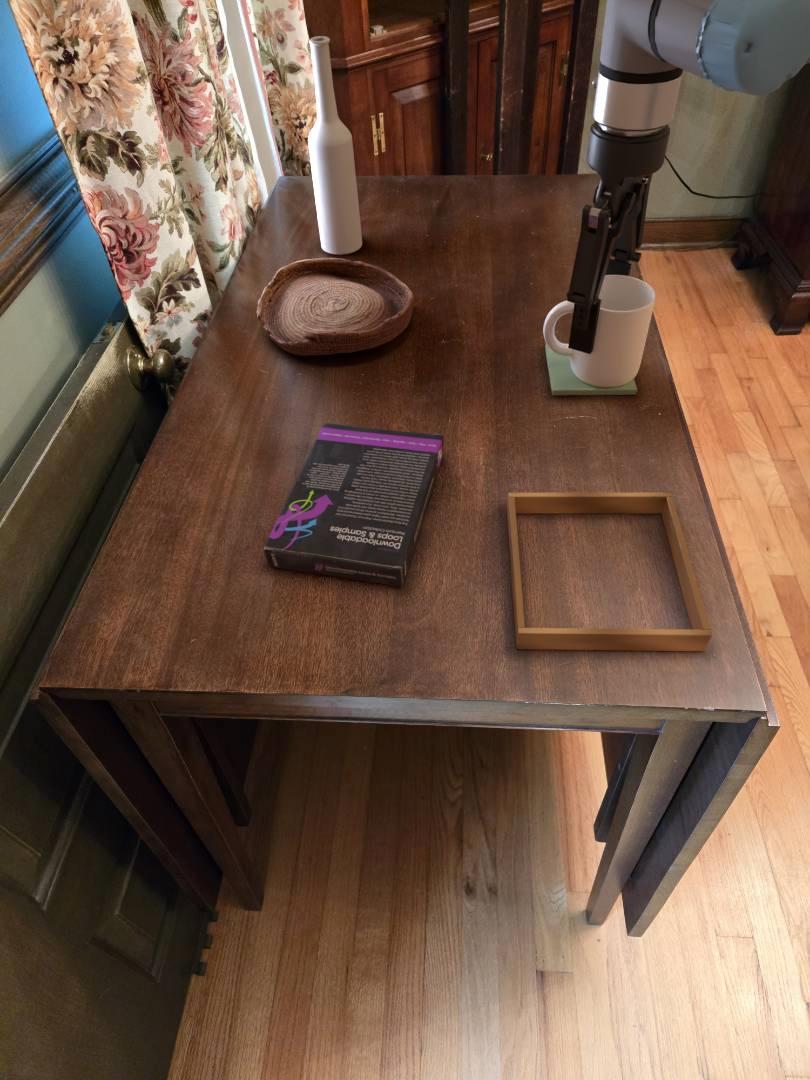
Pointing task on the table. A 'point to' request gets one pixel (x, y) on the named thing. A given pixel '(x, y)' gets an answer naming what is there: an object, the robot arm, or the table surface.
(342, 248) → the bottle
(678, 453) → the table surface
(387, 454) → the box
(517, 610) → the square wooden frame
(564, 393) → the plate
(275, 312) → the basket
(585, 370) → the mug
